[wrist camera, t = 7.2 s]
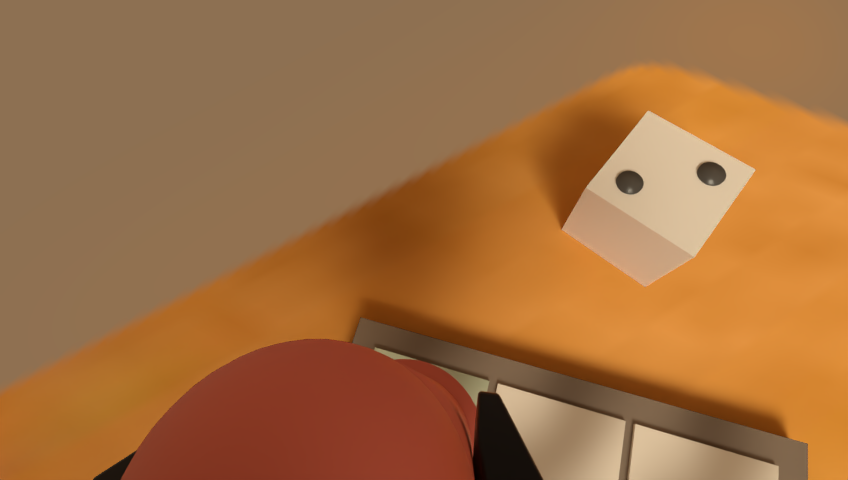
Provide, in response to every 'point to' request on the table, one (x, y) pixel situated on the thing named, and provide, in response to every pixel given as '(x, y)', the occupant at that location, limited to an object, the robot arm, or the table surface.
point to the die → (656, 200)
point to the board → (600, 421)
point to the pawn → (314, 420)
